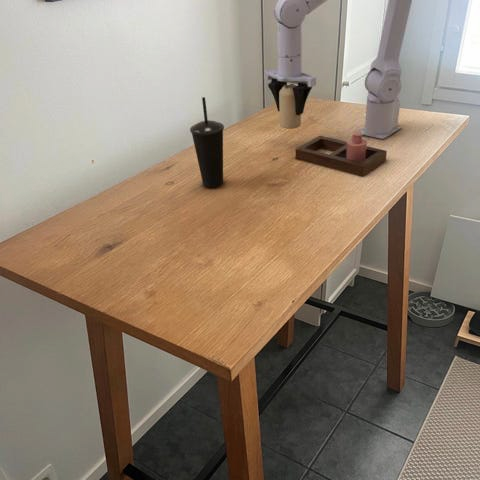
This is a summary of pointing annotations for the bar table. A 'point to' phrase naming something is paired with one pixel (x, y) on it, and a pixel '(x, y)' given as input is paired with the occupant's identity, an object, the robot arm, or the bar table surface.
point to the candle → (288, 108)
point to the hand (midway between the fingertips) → (290, 112)
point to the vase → (356, 147)
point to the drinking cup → (209, 150)
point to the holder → (339, 156)
